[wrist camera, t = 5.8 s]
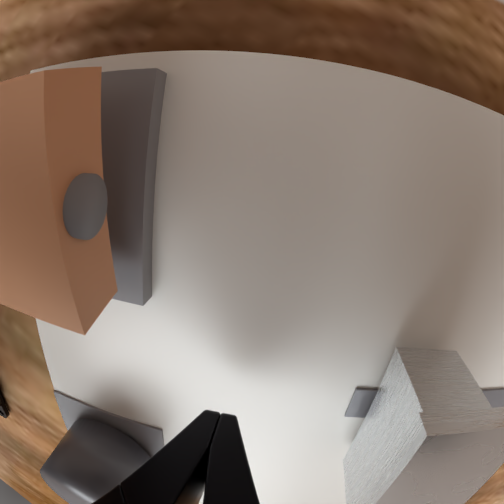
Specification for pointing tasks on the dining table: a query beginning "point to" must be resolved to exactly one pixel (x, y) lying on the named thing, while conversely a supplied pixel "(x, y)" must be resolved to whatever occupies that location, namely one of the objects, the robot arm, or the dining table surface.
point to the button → (91, 461)
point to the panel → (283, 253)
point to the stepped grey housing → (425, 434)
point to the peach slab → (54, 198)
